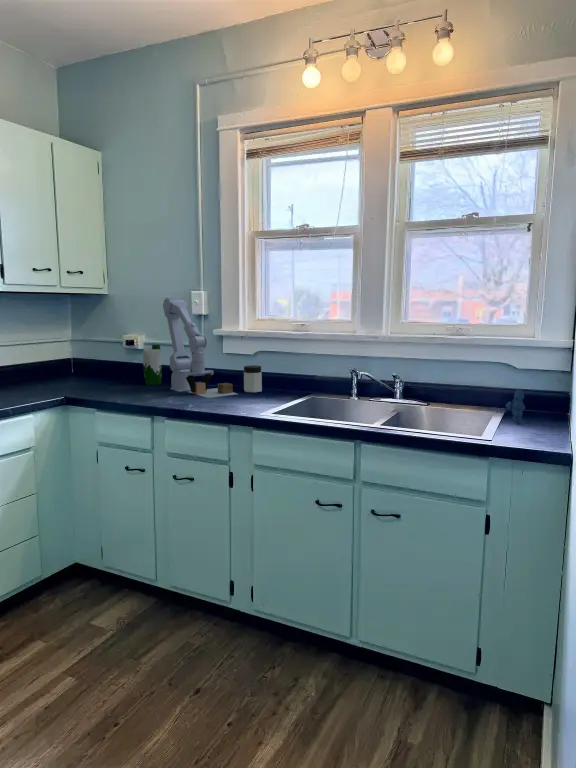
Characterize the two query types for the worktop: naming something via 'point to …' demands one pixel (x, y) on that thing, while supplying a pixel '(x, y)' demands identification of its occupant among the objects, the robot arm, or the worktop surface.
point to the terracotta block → (200, 388)
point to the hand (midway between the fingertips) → (198, 391)
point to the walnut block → (225, 388)
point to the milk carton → (152, 365)
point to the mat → (214, 393)
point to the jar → (252, 378)
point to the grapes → (517, 406)
